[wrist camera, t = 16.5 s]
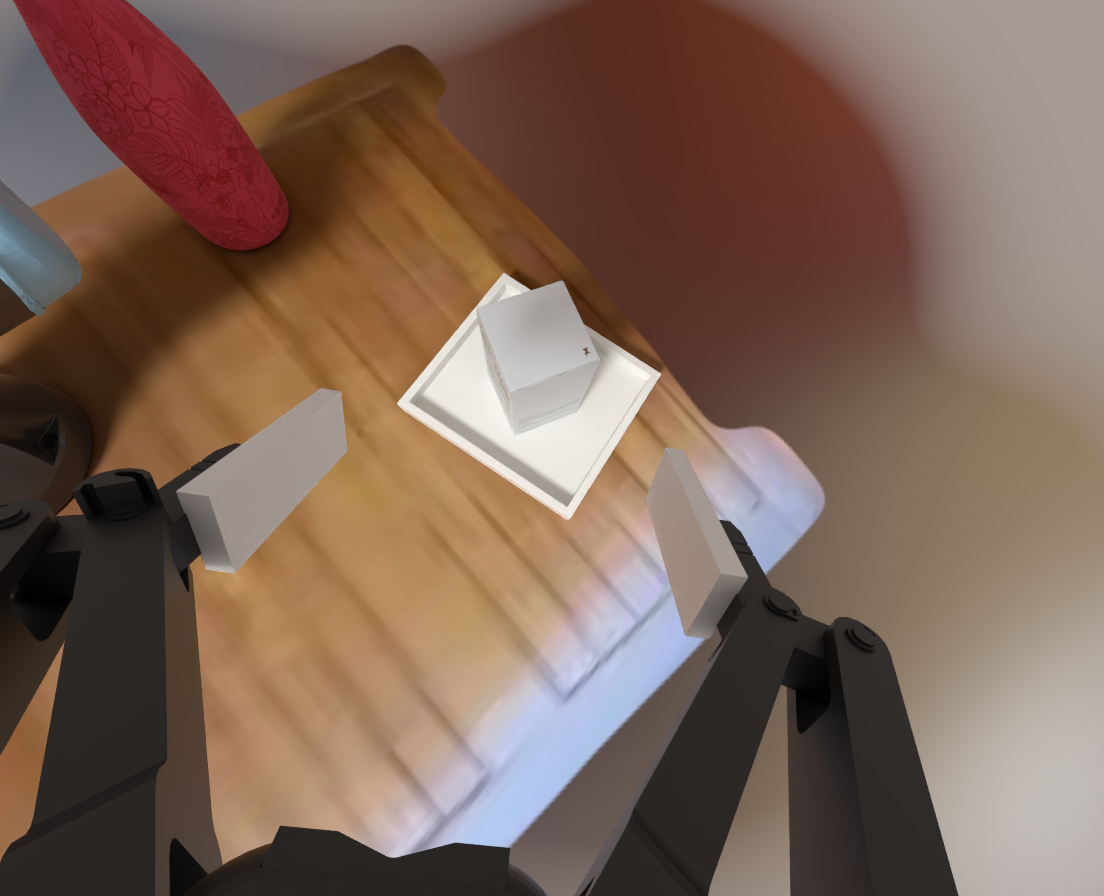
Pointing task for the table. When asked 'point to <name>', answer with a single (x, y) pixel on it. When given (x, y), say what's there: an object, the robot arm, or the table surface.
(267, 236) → the wine bottle
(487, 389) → the white tray
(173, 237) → the table surface
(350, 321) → the table surface
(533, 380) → the supplement box
